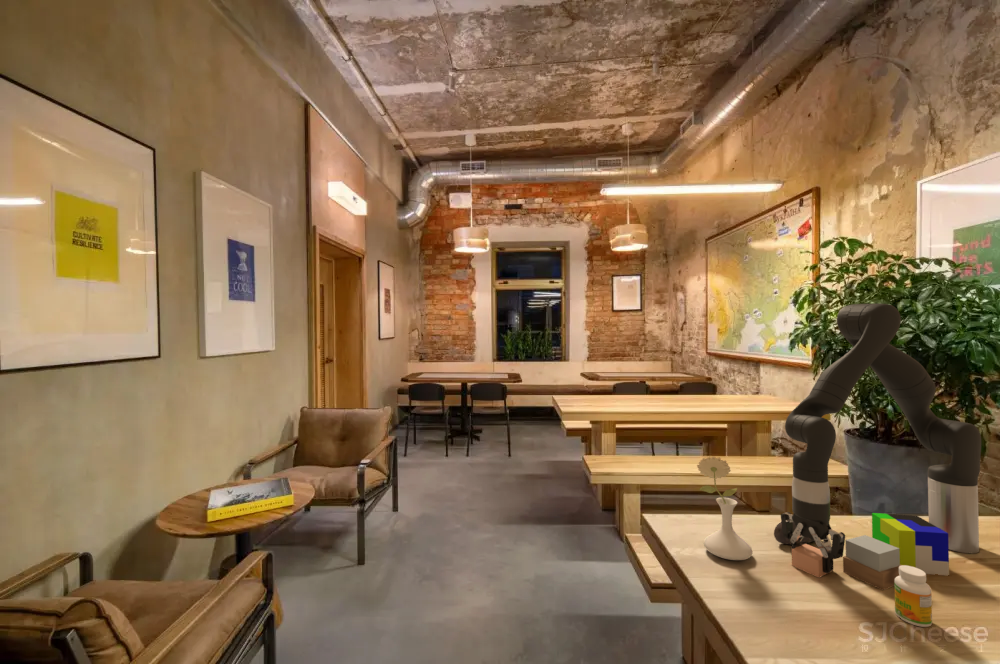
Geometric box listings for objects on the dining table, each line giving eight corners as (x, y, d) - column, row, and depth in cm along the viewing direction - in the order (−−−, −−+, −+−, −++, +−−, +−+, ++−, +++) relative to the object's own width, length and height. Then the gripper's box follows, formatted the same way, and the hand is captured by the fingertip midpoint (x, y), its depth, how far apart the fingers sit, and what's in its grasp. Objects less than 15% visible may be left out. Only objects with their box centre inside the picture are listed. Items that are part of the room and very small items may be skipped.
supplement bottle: (887, 611, 89) (886, 564, 89) (911, 609, 90) (910, 562, 90) (914, 628, 84) (913, 578, 84) (940, 626, 84) (939, 577, 84)
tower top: (865, 551, 106) (865, 535, 106) (899, 565, 99) (899, 548, 99) (845, 556, 104) (845, 539, 104) (879, 571, 97) (879, 554, 97)
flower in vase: (757, 552, 113) (755, 457, 113) (746, 570, 105) (744, 467, 105) (705, 537, 122) (703, 448, 122) (690, 552, 114) (689, 458, 114)
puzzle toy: (949, 575, 101) (948, 533, 101) (899, 571, 103) (898, 530, 103) (917, 554, 111) (916, 515, 111) (872, 551, 113) (871, 512, 113)
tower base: (863, 565, 107) (863, 549, 107) (903, 583, 99) (903, 565, 99) (843, 573, 104) (843, 556, 104) (883, 591, 96) (882, 573, 96)
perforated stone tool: (782, 550, 114) (781, 523, 114) (766, 540, 120) (765, 515, 120) (829, 543, 117) (828, 518, 117) (811, 534, 123) (811, 510, 123)
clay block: (806, 559, 110) (805, 543, 110) (832, 570, 104) (832, 554, 104) (791, 565, 107) (791, 549, 107) (818, 577, 101) (818, 560, 101)
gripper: (853, 504, 100) (854, 576, 100) (791, 484, 114) (792, 548, 114) (833, 510, 97) (834, 584, 97) (771, 489, 111) (773, 554, 111)
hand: (811, 564), depth 106 cm, fingers closed on clay block, 6 cm apart
